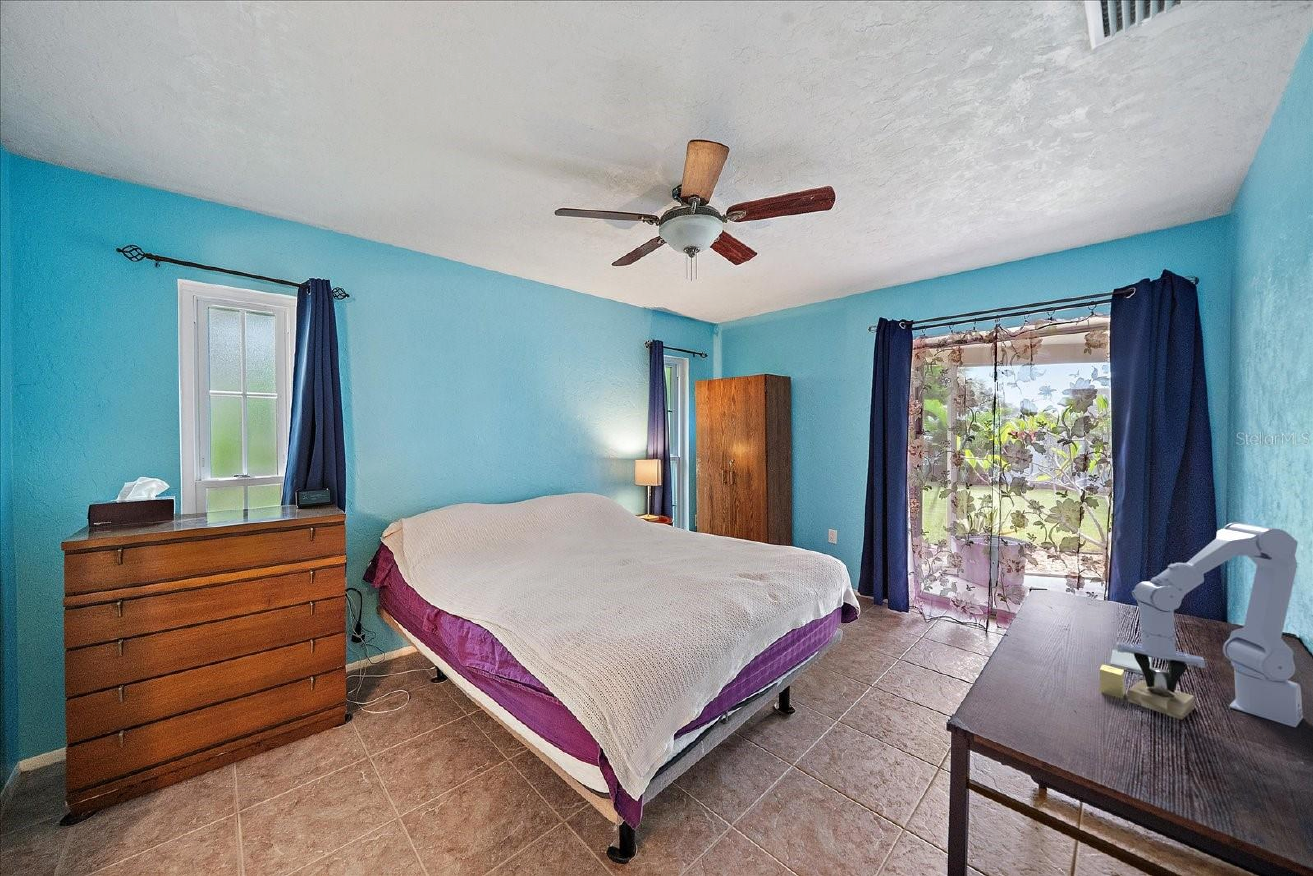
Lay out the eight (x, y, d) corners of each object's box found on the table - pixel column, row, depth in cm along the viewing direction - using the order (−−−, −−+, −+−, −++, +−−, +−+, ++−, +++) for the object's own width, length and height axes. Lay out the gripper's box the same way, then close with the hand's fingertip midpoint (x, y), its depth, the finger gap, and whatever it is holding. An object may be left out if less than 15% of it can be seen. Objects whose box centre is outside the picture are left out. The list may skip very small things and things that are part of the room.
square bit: (1125, 693, 118) (1124, 670, 119) (1122, 699, 116) (1121, 675, 116) (1103, 687, 122) (1102, 664, 122) (1100, 692, 119) (1099, 669, 119)
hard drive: (1112, 649, 141) (1109, 662, 132) (1151, 657, 135) (1151, 672, 126) (1112, 654, 141) (1110, 668, 132) (1152, 663, 135) (1152, 678, 126)
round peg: (1167, 694, 113) (1166, 670, 113) (1171, 700, 111) (1170, 675, 111) (1149, 690, 115) (1148, 666, 115) (1152, 696, 113) (1151, 672, 113)
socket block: (1194, 708, 111) (1193, 695, 111) (1181, 720, 107) (1181, 707, 107) (1142, 691, 119) (1141, 679, 119) (1128, 701, 115) (1127, 689, 115)
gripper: (1198, 634, 111) (1201, 690, 111) (1114, 620, 121) (1116, 672, 121) (1205, 644, 106) (1208, 703, 106) (1117, 629, 116) (1119, 683, 115)
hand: (1160, 688), depth 113 cm, fingers closed on round peg, 3 cm apart
